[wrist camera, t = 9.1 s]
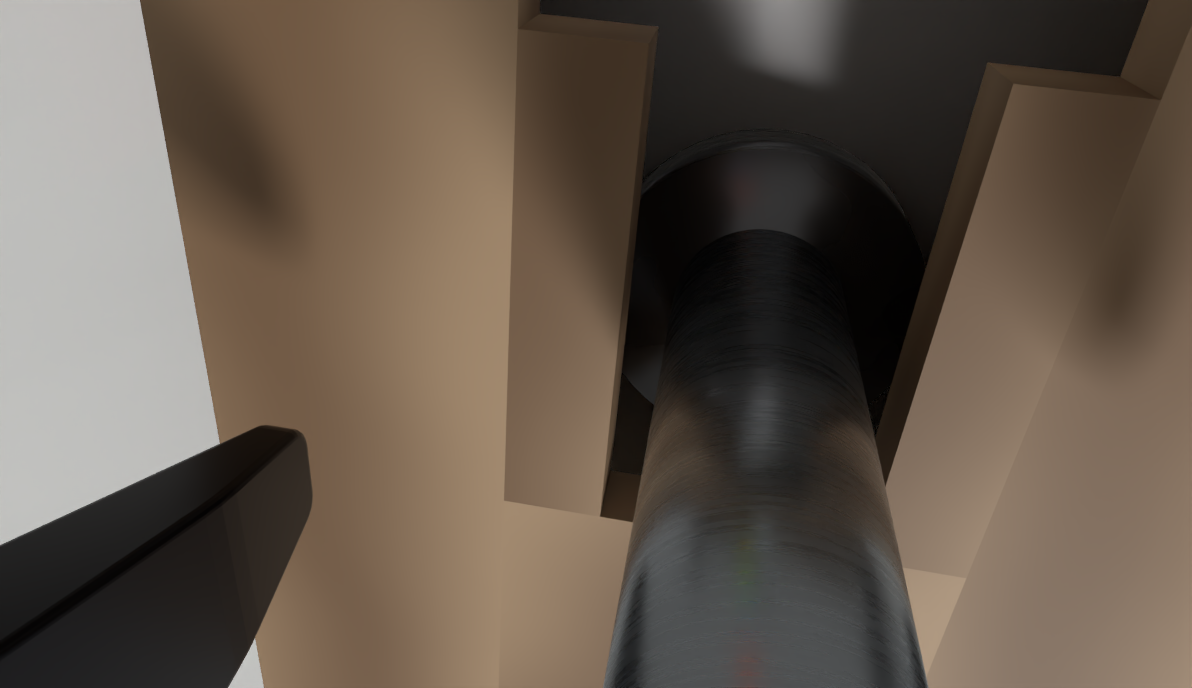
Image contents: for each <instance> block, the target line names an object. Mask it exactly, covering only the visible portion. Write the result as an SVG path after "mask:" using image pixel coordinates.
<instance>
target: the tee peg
mask: <svg viewBox="0 0 1192 688" xmlns="http://www.w3.org/2000/svg"><path fill="white" fill-rule="evenodd" d="M924 273H925V267H924V263H923V259H922V255H921V252H920V249H919V247H918V244H917V242H916V239H915V237H914V235H913V232H912V230H911V228H910V225H909V223H908V221H907V219H906V216H905V214H904V212H903V210H902V207H901V206H900V204H899V202H898V201H897V199H896V197H895V196H894V194H893V192H892V191H891V190H890V188H889V187H888V186H887V185H886V184H885V182H884V181H883V180H882V179H881V178H880V176H879V175H878V174H877V173H875V172H874V171H873V170H872V169H871V168H870V167H869V166H868V165H867V164H865V163H864V162H863V161H862V160H860V159H859V158H857V157H856V156H854V155H853V154H851V153H850V152H848V151H847V150H845V149H843V148H841V147H839V146H836V145H834V144H832V143H830V142H828V141H826V140H823V139H820V138H817V137H814V136H810V135H807V134H803V133H797V132H792V131H787V130H772V129H757V130H743V131H737V132H732V133H727V134H722V135H719V136H716V137H713V138H710V139H707V140H704V141H701V142H699V143H697V144H695V145H692V146H690V147H688V148H686V149H684V150H682V151H680V152H679V153H677V154H676V155H674V156H673V157H671V158H670V159H668V160H667V161H665V162H664V163H663V164H662V165H660V166H659V167H658V168H657V169H656V170H655V171H654V172H652V173H651V174H650V175H649V176H648V177H647V178H646V179H645V181H644V182H643V183H642V187H641V196H640V205H639V215H638V224H637V233H636V242H635V252H634V261H633V270H632V279H631V289H630V298H629V307H628V316H627V326H626V335H625V344H624V353H623V363H622V372H623V374H624V375H625V376H626V377H627V379H628V380H629V381H630V382H631V384H632V385H633V386H634V387H635V388H636V389H637V390H638V391H639V392H640V393H641V394H642V395H643V396H644V397H645V398H646V399H647V400H649V401H650V402H651V403H652V404H654V408H653V414H652V419H651V425H650V430H649V436H648V441H647V447H646V452H645V458H644V463H643V469H642V475H641V480H640V486H639V491H638V497H637V502H636V508H635V513H634V519H633V524H632V530H631V535H630V541H629V546H628V552H627V557H626V563H625V568H624V574H623V579H622V585H621V591H620V596H619V602H618V607H617V613H616V618H615V624H614V629H613V635H612V640H611V646H610V651H609V657H608V662H607V668H606V673H605V679H604V684H603V688H929V687H928V682H927V678H926V673H925V669H924V664H923V659H922V655H921V650H920V645H919V641H918V636H917V631H916V627H915V622H914V618H913V613H912V608H911V604H910V599H909V594H908V590H907V585H906V580H905V576H904V571H903V567H902V562H901V557H900V553H899V548H898V543H897V539H896V534H895V530H894V525H893V520H892V516H891V511H890V506H889V502H888V497H887V492H886V488H885V483H884V479H883V474H882V469H881V465H880V460H879V455H878V451H877V446H876V441H875V437H874V432H873V428H872V423H871V418H870V414H869V409H868V404H869V403H871V402H872V401H873V400H875V399H876V398H877V397H878V396H880V394H881V393H882V392H883V391H884V390H885V389H886V388H887V387H888V386H889V385H890V384H891V383H892V380H893V377H894V374H895V370H896V367H897V364H898V360H899V357H900V353H901V350H902V347H903V343H904V340H905V337H906V333H907V330H908V327H909V323H910V320H911V317H912V313H913V310H914V307H915V303H916V300H917V297H918V293H919V290H920V287H921V283H922V280H923V276H924Z"/></svg>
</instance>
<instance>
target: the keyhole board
mask: <svg viewBox="0 0 1192 688" xmlns="http://www.w3.org/2000/svg"><path fill="white" fill-rule="evenodd" d="M140 3H141V8H142V14H143V19H144V25H145V30H146V36H147V41H148V47H149V53H150V58H151V64H152V69H153V75H154V80H155V86H156V91H157V97H158V102H159V108H160V113H161V119H162V125H163V130H164V136H165V141H166V147H167V152H168V158H169V163H170V169H171V174H172V180H173V185H174V191H175V197H176V202H177V208H178V213H179V219H180V224H181V230H182V235H183V241H184V246H185V252H186V257H187V263H188V269H189V274H190V280H191V285H192V291H193V296H194V302H195V307H196V313H197V318H198V324H199V329H200V335H201V341H202V346H203V352H204V357H205V363H206V368H207V374H208V379H209V385H210V390H211V396H212V401H213V407H214V413H215V418H216V424H217V429H218V435H219V440H220V444H221V443H223V442H225V441H227V440H229V439H231V438H234V437H236V436H238V435H240V434H242V433H244V432H247V431H249V430H251V429H253V428H255V427H258V426H261V425H272V426H278V427H284V428H290V429H296V430H298V431H300V432H301V433H302V434H303V435H304V437H305V439H306V442H307V448H308V456H309V465H310V473H311V482H312V490H313V501H312V507H311V511H310V515H309V518H308V520H307V522H306V525H305V527H304V529H303V531H302V534H301V536H300V538H299V540H298V543H297V545H296V547H295V549H294V552H293V554H292V556H291V558H290V561H289V563H288V565H287V567H286V570H285V572H284V574H283V576H282V579H281V581H280V583H279V585H278V588H277V590H276V592H275V594H274V597H273V599H272V601H271V603H270V606H269V608H268V610H267V612H266V615H265V617H264V619H263V621H262V624H261V626H260V628H259V630H258V632H257V634H256V637H255V640H256V645H257V651H258V656H259V662H260V667H261V673H262V678H263V684H264V688H603V684H604V679H605V673H606V668H607V662H608V657H609V651H610V646H611V640H612V635H613V629H614V624H615V618H616V613H617V607H618V602H619V596H620V591H621V585H622V579H623V574H624V568H625V563H626V557H627V552H628V546H629V541H630V535H631V530H632V524H633V519H634V513H635V508H636V502H637V497H638V491H639V486H640V480H641V475H637V474H630V473H624V472H618V471H612V470H611V464H612V455H613V446H614V437H615V427H616V418H617V409H618V400H619V390H620V381H621V372H622V363H623V353H624V344H625V335H626V326H627V316H628V307H629V298H630V289H631V279H632V270H633V261H634V252H635V242H636V233H637V224H638V215H639V205H640V196H641V187H642V178H643V168H644V159H645V150H646V141H647V131H648V122H649V113H650V104H651V94H652V85H653V76H654V67H655V57H656V48H657V39H658V30H659V27H657V26H648V25H639V24H629V23H620V22H611V21H602V20H593V19H583V18H574V17H565V16H556V15H546V14H540V0H140ZM875 441H876V446H877V451H878V455H879V460H880V465H881V469H882V474H883V479H884V483H885V488H886V492H887V497H888V502H889V506H890V511H891V516H892V520H893V525H894V530H895V534H896V539H897V543H898V548H899V553H900V557H901V562H902V567H903V571H904V576H905V580H906V585H907V590H908V594H909V599H910V604H911V608H912V613H913V618H914V622H915V627H916V631H917V636H918V641H919V645H920V650H921V655H922V659H923V664H924V669H925V673H926V678H927V682H928V687H929V688H1192V0H1149V1H1148V4H1147V7H1146V9H1145V12H1144V14H1143V17H1142V20H1141V22H1140V25H1139V28H1138V30H1137V33H1136V36H1135V38H1134V41H1133V44H1132V46H1131V49H1130V52H1129V54H1128V57H1127V59H1126V62H1125V65H1124V67H1123V70H1122V73H1121V75H1120V77H1117V76H1108V75H1099V74H1090V73H1081V72H1071V71H1062V70H1053V69H1044V68H1035V67H1025V66H1016V65H1007V64H998V63H989V62H987V66H986V69H985V72H984V76H983V79H982V82H981V86H980V89H979V92H978V96H977V99H976V102H975V106H974V109H973V112H972V116H971V119H970V122H969V126H968V129H967V133H966V136H965V139H964V143H963V146H962V149H961V153H960V156H959V159H958V163H957V166H956V169H955V173H954V176H953V179H952V183H951V186H950V189H949V193H948V196H947V199H946V203H945V206H944V210H943V213H942V216H941V220H940V223H939V226H938V230H937V233H936V236H935V240H934V243H933V246H932V250H931V253H930V256H929V260H928V263H927V266H926V270H925V273H924V276H923V280H922V283H921V287H920V290H919V293H918V297H917V300H916V303H915V307H914V310H913V313H912V317H911V320H910V323H909V327H908V330H907V333H906V337H905V340H904V343H903V347H902V350H901V353H900V357H899V360H898V364H897V367H896V370H895V374H894V377H893V380H892V384H891V387H890V390H889V394H888V397H887V400H886V404H885V407H884V410H883V414H882V417H881V420H880V424H879V427H878V430H877V434H876V437H875Z"/></svg>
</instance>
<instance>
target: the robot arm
mask: <svg viewBox="0 0 1192 688" xmlns="http://www.w3.org/2000/svg"><path fill="white" fill-rule="evenodd" d="M312 501H313V490H312V482H311V473H310V465H309V456H308V448H307V442H306V439H305V437H304V435H303V434H302V433H301V432H300V431H298V430H296V429H290V428H284V427H278V426H272V425H261V426H258V427H255V428H253V429H251V430H249V431H247V432H244V433H242V434H240V435H238V436H236V437H234V438H231V439H229V440H227V441H225V442H223V443H221V444H218V445H216V446H214V447H212V448H210V449H208V450H205V451H203V452H201V453H199V454H197V455H195V456H192V457H190V458H188V459H186V460H184V461H182V462H179V463H177V464H175V465H173V466H171V467H169V468H166V469H164V470H162V471H160V472H158V473H156V474H153V475H151V476H149V477H147V478H145V479H143V480H140V481H138V482H136V483H134V484H132V485H130V486H128V487H125V488H123V489H121V490H119V491H117V492H115V493H112V494H110V495H108V496H106V497H104V498H102V499H99V500H97V501H95V502H93V503H91V504H89V505H86V506H84V507H82V508H80V509H78V510H76V511H73V512H71V513H69V514H67V515H65V516H63V517H60V518H58V519H56V520H54V521H52V522H50V523H47V524H45V525H43V526H41V527H39V528H37V529H34V530H32V531H30V532H28V533H26V534H24V535H21V536H19V537H17V538H15V539H13V540H11V541H8V542H6V543H4V544H2V545H0V688H228V687H229V685H230V683H231V681H232V680H233V678H234V676H235V675H236V673H237V671H238V669H239V667H240V666H241V664H242V662H243V660H244V658H245V656H246V655H247V653H248V651H249V649H250V647H251V645H252V643H253V641H254V639H255V637H256V634H257V632H258V630H259V628H260V626H261V624H262V621H263V619H264V617H265V615H266V612H267V610H268V608H269V606H270V603H271V601H272V599H273V597H274V594H275V592H276V590H277V588H278V585H279V583H280V581H281V579H282V576H283V574H284V572H285V570H286V567H287V565H288V563H289V561H290V558H291V556H292V554H293V552H294V549H295V547H296V545H297V543H298V540H299V538H300V536H301V534H302V531H303V529H304V527H305V525H306V522H307V520H308V518H309V515H310V511H311V507H312Z"/></svg>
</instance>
